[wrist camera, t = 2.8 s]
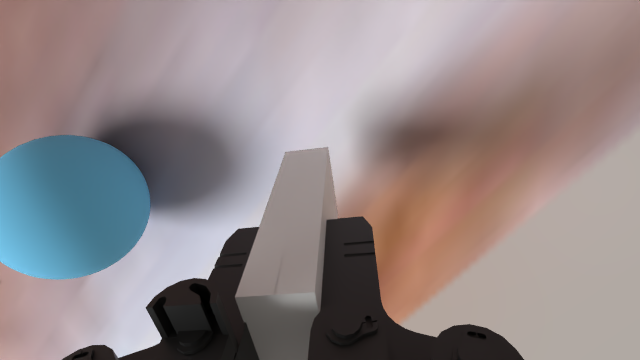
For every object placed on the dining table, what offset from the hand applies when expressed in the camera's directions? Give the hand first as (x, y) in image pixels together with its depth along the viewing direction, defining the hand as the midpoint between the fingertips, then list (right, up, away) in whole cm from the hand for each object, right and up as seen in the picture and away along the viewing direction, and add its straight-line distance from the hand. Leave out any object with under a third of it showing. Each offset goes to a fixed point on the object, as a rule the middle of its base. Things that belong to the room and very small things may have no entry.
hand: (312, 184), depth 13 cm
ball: (-9, -1, +1) cm, 10 cm away
